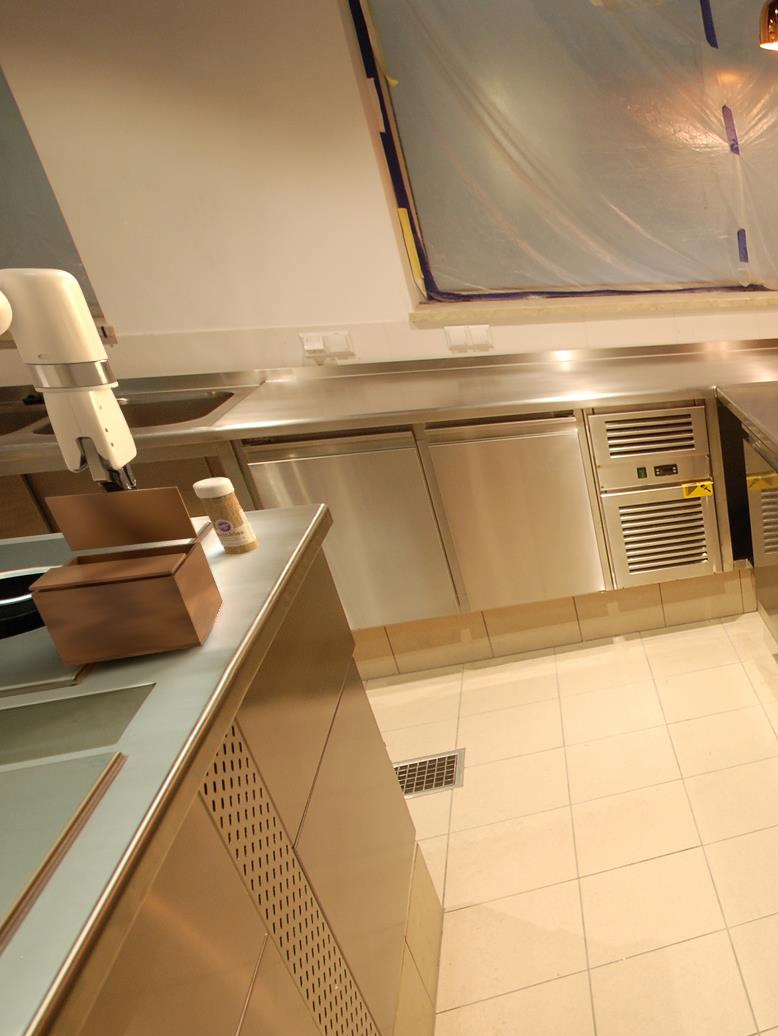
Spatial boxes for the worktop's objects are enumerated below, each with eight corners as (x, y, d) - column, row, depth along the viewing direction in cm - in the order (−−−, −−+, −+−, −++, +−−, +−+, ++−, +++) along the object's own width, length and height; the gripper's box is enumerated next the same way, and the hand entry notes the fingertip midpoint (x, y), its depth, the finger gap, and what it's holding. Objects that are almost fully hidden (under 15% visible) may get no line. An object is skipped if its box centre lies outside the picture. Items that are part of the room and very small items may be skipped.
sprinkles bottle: (229, 569, 133) (189, 488, 126) (232, 558, 136) (193, 479, 129) (264, 562, 135) (227, 483, 128) (267, 552, 138) (230, 474, 131)
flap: (44, 498, 105) (45, 497, 105) (71, 551, 109) (72, 550, 109) (176, 487, 111) (177, 486, 111) (197, 537, 115) (198, 536, 115)
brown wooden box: (65, 666, 102) (27, 588, 97) (103, 621, 113) (70, 549, 109) (202, 645, 108) (171, 570, 103) (224, 605, 119) (198, 536, 115)
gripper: (53, 370, 109) (110, 507, 116) (8, 386, 97) (76, 537, 105) (129, 367, 112) (180, 500, 120) (95, 383, 100) (154, 529, 108)
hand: (131, 517), depth 112 cm, fingers closed
